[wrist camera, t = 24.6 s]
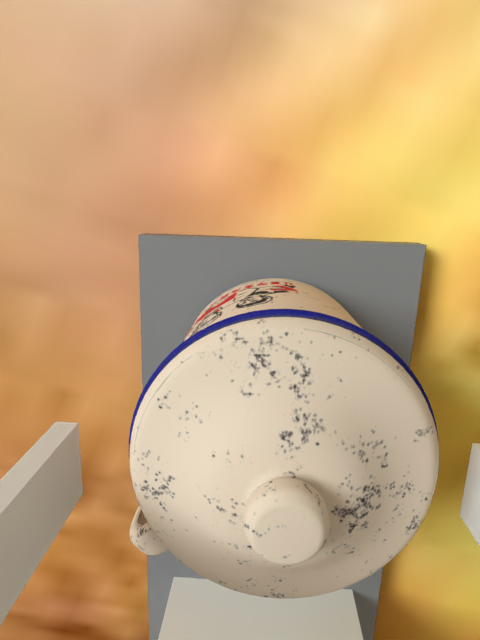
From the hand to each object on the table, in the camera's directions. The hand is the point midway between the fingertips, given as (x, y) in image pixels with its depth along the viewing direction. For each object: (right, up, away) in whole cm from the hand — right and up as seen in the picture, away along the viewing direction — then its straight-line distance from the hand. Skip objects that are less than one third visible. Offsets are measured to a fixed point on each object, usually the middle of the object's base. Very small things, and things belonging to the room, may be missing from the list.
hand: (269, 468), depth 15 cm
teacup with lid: (0, +2, +7) cm, 7 cm away
